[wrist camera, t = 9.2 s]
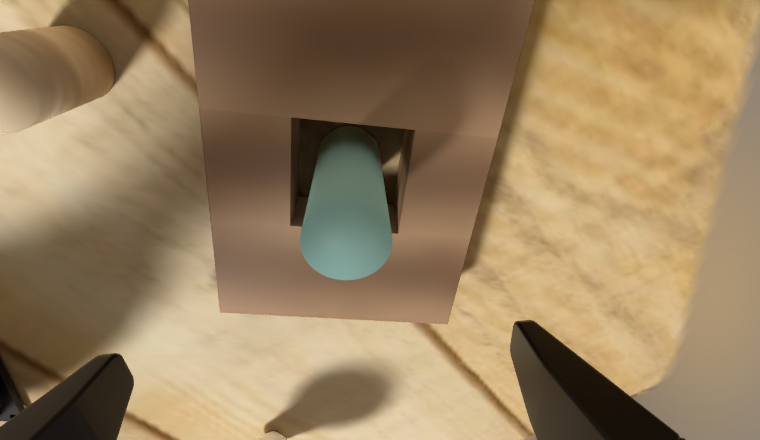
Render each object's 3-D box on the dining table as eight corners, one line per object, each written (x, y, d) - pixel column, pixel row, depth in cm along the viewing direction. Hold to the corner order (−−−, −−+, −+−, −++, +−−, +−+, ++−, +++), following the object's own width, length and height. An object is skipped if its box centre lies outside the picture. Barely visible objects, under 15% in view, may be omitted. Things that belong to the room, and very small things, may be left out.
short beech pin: (121, 102, 18) (47, 137, 14) (49, 95, 18) (-49, 129, 14) (106, 30, 17) (19, 44, 12) (28, 20, 16) (-89, 32, 12)
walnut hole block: (437, 288, 24) (447, 324, 22) (235, 276, 23) (219, 312, 21) (510, -13, 17) (538, -14, 14) (211, -55, 15) (181, -64, 13)
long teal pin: (375, 185, 21) (386, 282, 14) (317, 180, 21) (298, 277, 14) (382, 129, 19) (398, 206, 12) (320, 123, 19) (300, 198, 12)
